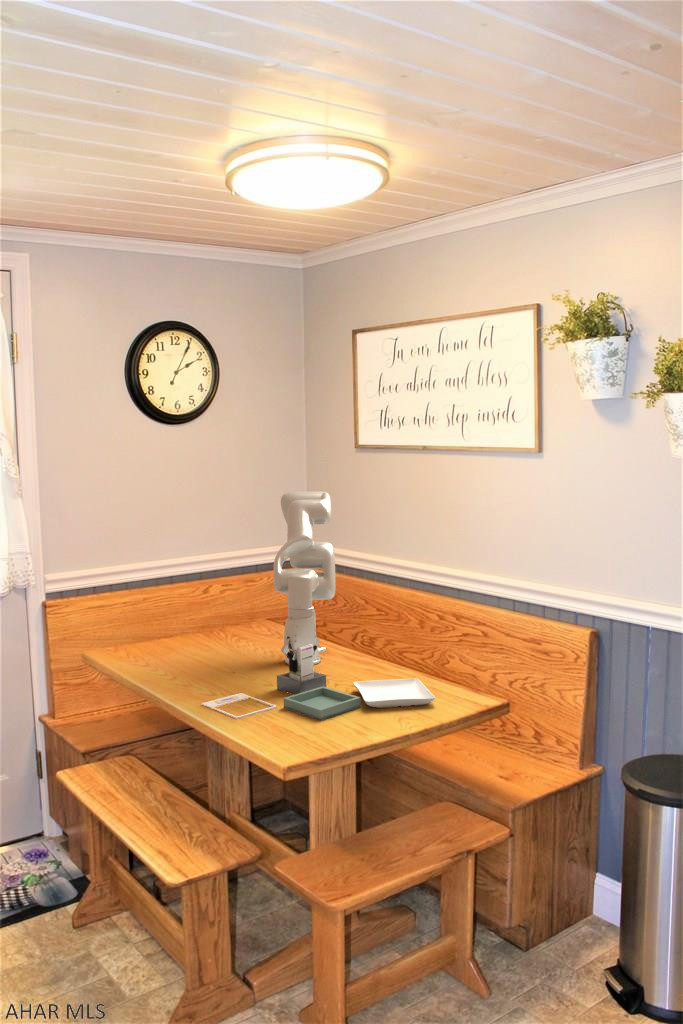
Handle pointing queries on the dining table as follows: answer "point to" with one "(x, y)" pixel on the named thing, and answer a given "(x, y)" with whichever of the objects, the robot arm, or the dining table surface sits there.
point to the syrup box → (303, 664)
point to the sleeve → (300, 683)
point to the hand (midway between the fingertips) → (301, 668)
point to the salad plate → (394, 692)
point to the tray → (322, 703)
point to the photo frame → (233, 699)
